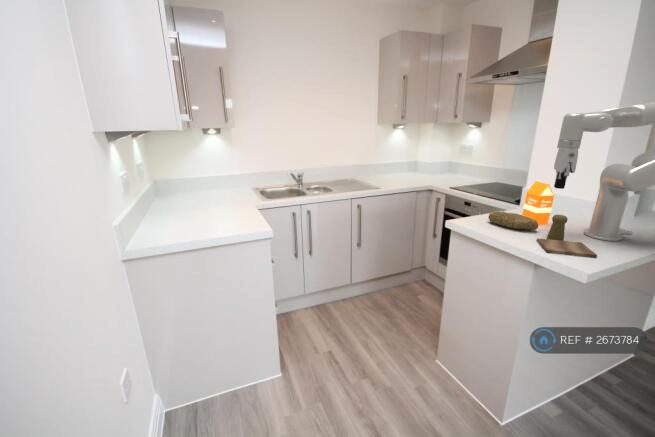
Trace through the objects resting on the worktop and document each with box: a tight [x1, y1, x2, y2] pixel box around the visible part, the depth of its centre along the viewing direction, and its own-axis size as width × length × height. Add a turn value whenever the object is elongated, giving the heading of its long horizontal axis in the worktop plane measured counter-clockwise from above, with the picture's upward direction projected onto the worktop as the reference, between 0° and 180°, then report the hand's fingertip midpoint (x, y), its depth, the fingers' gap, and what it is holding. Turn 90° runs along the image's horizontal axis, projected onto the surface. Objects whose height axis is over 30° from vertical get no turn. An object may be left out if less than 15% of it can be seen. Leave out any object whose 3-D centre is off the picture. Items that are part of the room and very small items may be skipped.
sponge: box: [488, 210, 539, 231], centre depth 147 cm, size 13×8×20 cm
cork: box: [546, 214, 569, 241], centre depth 130 cm, size 6×6×11 cm
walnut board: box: [536, 237, 598, 259], centre depth 122 cm, size 16×13×1 cm
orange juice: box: [521, 180, 555, 225], centre depth 153 cm, size 8×9×20 cm
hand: (558, 187), depth 133 cm, fingers closed
